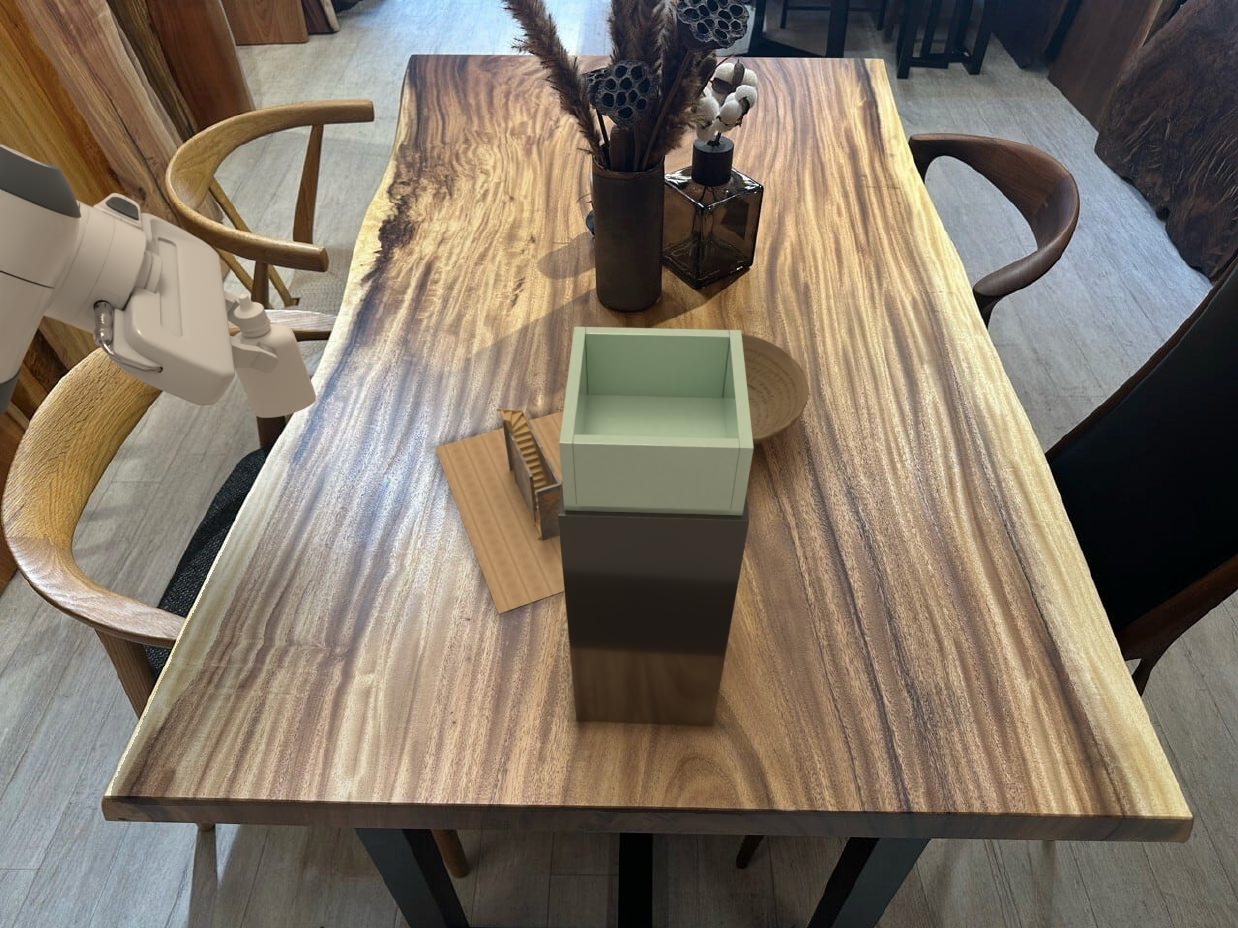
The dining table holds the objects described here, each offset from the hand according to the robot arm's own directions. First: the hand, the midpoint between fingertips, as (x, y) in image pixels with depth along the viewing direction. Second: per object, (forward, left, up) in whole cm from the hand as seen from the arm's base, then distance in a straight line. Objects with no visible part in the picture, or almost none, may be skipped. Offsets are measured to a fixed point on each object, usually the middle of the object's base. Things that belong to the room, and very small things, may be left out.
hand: (271, 346), depth 71 cm
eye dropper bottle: (-1, 0, -7) cm, 7 cm away
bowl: (+44, -4, -23) cm, 50 cm away
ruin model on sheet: (+20, -6, -23) cm, 31 cm away
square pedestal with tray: (+23, -29, -23) cm, 44 cm away
